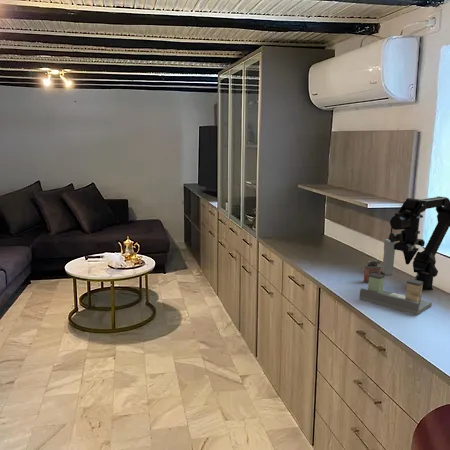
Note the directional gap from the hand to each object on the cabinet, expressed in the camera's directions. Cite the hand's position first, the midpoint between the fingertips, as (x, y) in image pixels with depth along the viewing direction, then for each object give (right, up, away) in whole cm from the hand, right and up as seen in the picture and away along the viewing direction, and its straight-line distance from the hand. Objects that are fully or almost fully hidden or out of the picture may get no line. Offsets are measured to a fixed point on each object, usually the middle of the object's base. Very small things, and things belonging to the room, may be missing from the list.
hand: (407, 264), depth 199 cm
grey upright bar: (+2, -7, +30) cm, 31 cm away
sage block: (-18, -12, -12) cm, 24 cm away
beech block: (-5, -14, -19) cm, 24 cm away
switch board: (-10, -14, -14) cm, 22 cm away
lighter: (-11, -9, +14) cm, 20 cm away
